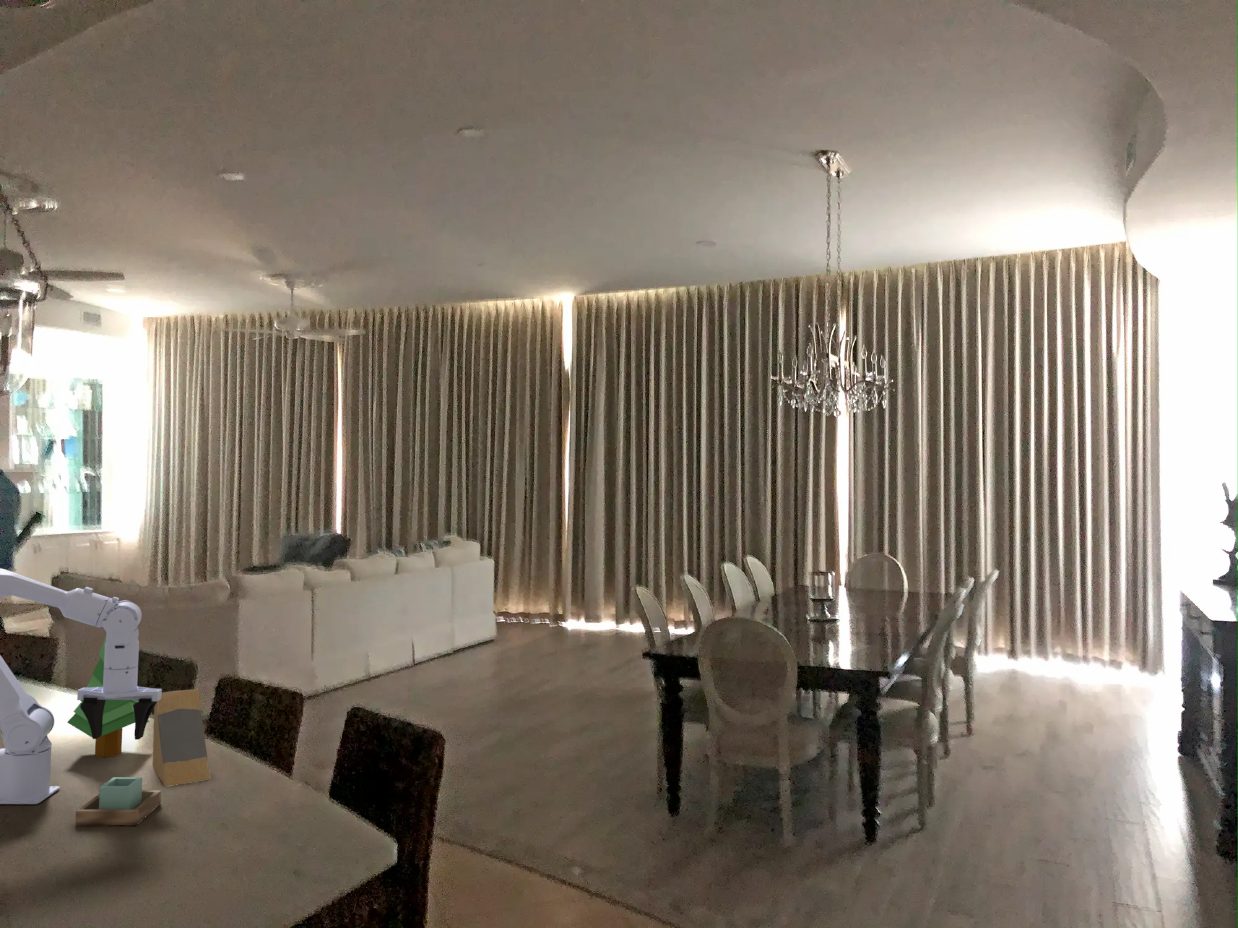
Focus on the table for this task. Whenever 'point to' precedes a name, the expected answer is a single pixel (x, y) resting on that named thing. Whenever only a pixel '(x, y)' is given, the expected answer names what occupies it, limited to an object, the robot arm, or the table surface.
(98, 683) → the decorative tree
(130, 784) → the box
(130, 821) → the walnut crate
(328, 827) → the table surface
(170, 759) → the sandwich container
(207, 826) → the table surface
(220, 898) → the table surface
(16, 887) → the table surface
